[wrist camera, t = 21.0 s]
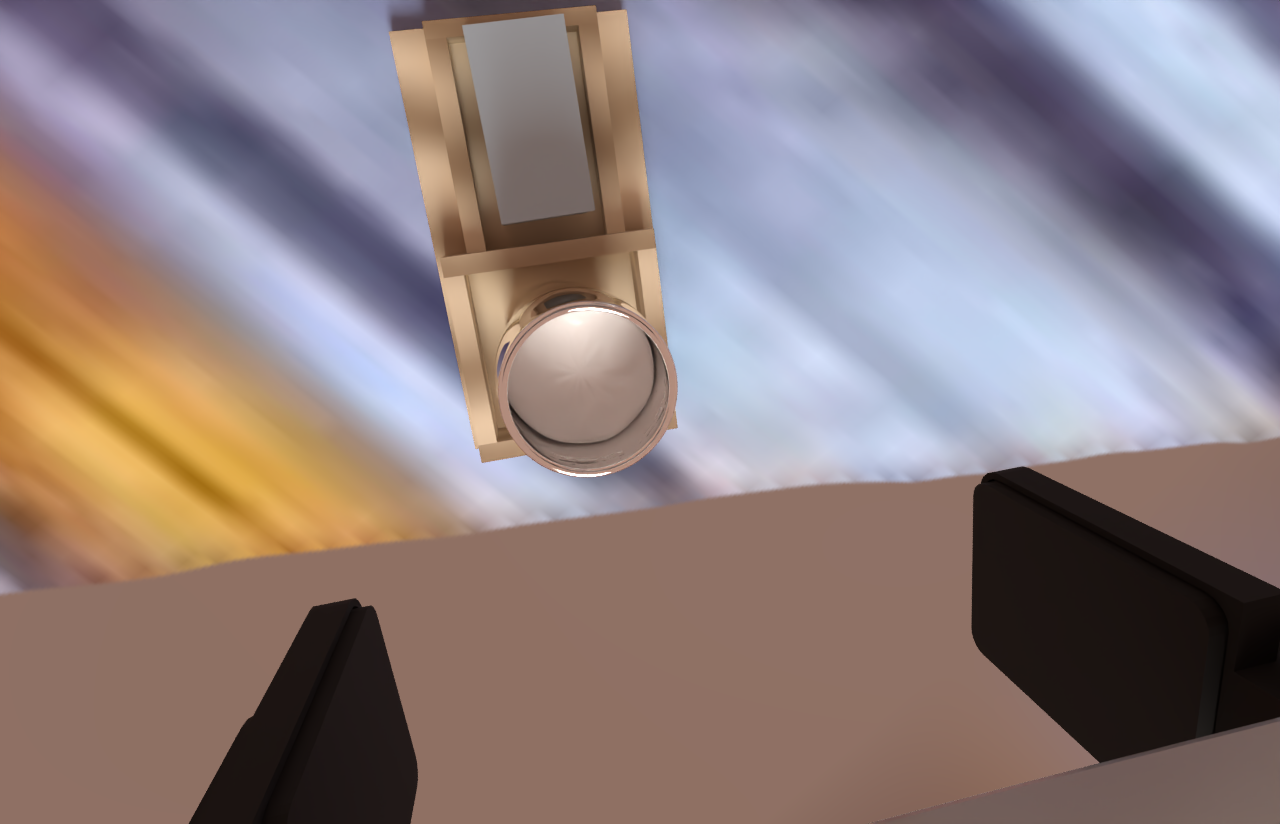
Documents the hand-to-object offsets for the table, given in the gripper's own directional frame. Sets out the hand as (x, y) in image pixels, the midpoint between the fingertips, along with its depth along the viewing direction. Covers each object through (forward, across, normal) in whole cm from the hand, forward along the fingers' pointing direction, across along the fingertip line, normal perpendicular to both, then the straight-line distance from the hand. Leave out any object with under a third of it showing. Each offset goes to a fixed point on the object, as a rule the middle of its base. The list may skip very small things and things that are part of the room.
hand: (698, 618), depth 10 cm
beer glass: (+30, 0, 0) cm, 30 cm away
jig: (+31, 0, -5) cm, 32 cm away
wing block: (+30, 0, -10) cm, 32 cm away
